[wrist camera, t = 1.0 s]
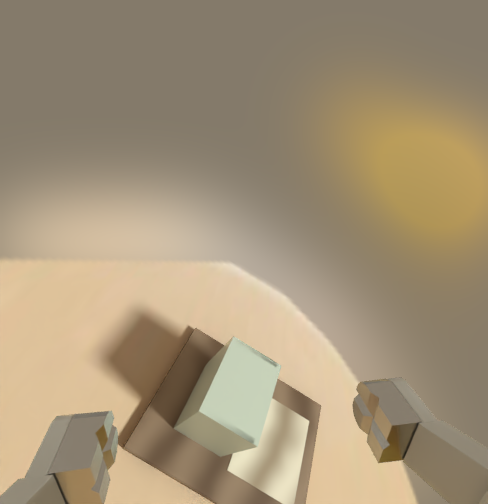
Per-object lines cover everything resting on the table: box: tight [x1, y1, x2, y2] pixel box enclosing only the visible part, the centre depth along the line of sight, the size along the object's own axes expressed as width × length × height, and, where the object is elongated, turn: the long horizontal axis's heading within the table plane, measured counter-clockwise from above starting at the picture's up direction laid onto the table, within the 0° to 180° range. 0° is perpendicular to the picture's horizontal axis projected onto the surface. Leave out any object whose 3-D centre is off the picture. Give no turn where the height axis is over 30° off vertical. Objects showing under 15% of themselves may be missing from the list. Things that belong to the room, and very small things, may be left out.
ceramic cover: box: [174, 336, 281, 457], centre depth 33 cm, size 6×8×10 cm
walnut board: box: [123, 328, 321, 504], centre depth 36 cm, size 22×16×1 cm
